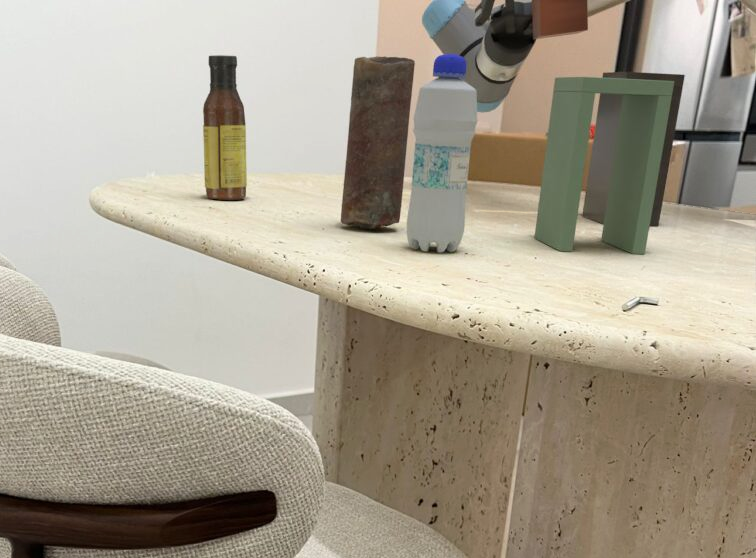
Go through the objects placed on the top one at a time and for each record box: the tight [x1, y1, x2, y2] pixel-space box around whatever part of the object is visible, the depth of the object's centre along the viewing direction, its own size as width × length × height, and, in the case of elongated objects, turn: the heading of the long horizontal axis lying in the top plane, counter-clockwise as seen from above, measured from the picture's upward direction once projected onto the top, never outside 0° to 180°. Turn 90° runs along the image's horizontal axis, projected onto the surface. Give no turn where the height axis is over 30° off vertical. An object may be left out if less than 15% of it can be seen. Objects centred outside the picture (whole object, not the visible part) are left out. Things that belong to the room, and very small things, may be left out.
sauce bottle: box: [202, 54, 248, 201], centre depth 138 cm, size 7×6×20 cm
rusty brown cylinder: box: [340, 56, 416, 230], centre depth 114 cm, size 8×7×20 cm
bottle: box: [406, 54, 478, 254], centre depth 101 cm, size 7×7×20 cm
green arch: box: [534, 76, 674, 255], centre depth 109 cm, size 10×10×18 cm
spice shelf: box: [581, 71, 686, 227], centre depth 134 cm, size 8×9×20 cm
